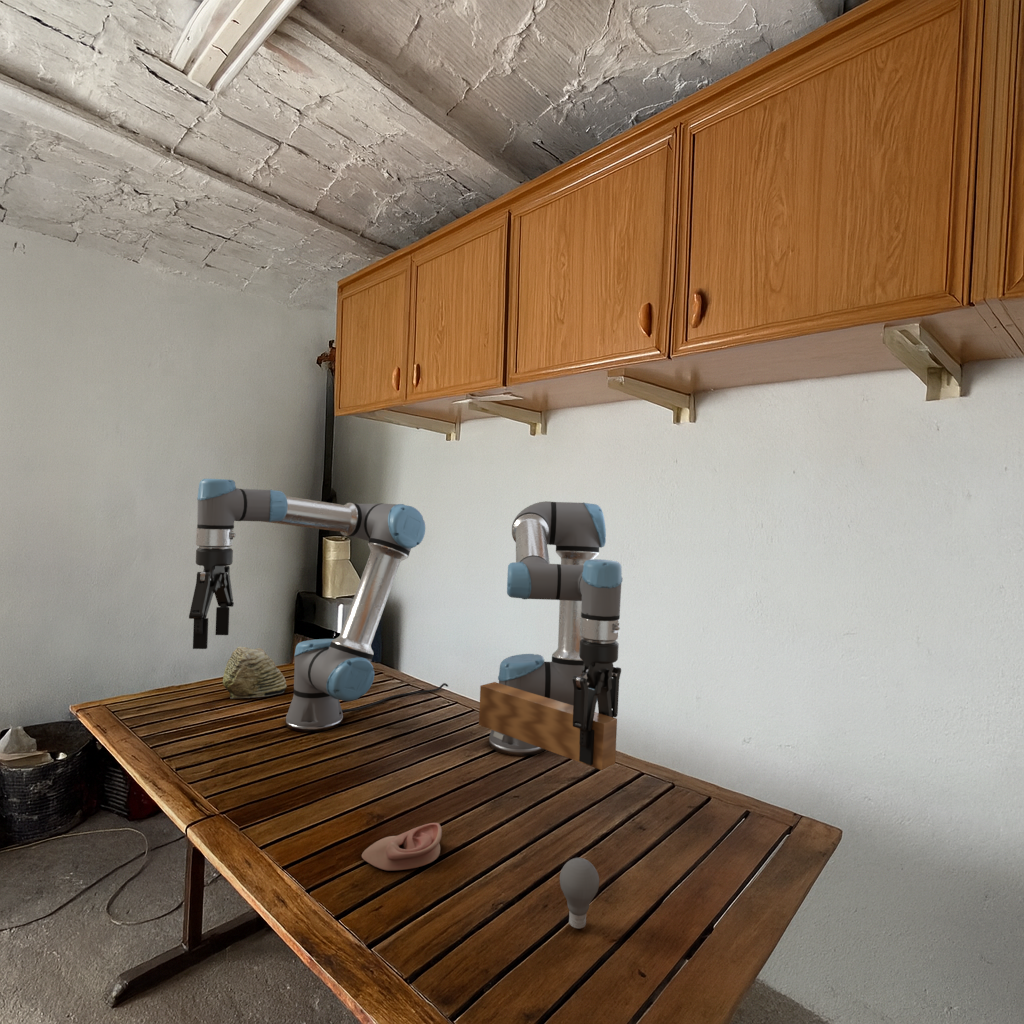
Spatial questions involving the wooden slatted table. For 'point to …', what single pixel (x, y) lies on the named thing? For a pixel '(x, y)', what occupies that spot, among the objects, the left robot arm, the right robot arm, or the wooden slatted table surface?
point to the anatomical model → (406, 849)
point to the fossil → (252, 674)
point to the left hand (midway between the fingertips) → (211, 641)
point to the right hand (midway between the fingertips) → (594, 758)
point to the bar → (544, 723)
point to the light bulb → (579, 888)
